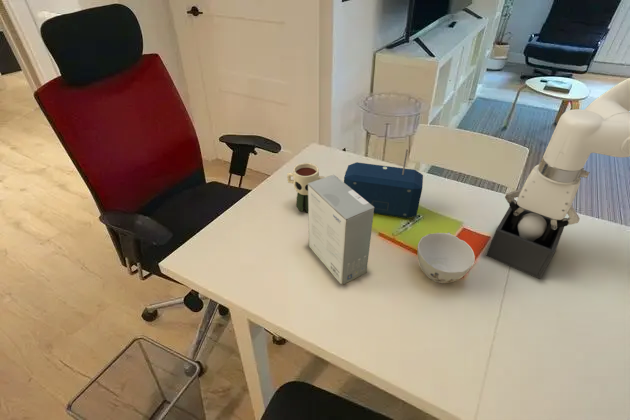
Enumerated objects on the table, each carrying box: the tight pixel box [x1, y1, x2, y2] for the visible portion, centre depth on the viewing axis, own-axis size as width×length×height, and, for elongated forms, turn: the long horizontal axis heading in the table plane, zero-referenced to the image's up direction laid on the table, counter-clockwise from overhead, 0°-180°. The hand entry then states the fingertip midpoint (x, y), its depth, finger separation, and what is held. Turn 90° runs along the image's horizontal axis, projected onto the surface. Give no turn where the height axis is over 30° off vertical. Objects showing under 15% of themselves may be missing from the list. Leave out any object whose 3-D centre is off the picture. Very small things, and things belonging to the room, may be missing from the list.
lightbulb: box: [517, 213, 547, 242], centre depth 90 cm, size 6×6×11 cm
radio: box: [343, 149, 424, 219], centre depth 103 cm, size 21×9×20 cm, turn 76°
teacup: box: [416, 231, 476, 284], centre depth 87 cm, size 15×12×8 cm
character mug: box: [286, 162, 326, 213], centre depth 105 cm, size 11×7×13 cm, turn 78°
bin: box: [485, 206, 565, 280], centre depth 92 cm, size 13×13×9 cm
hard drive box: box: [307, 174, 375, 285], centre depth 87 cm, size 16×8×20 cm, turn 32°
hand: (529, 231), depth 90 cm, fingers closed on lightbulb, 6 cm apart
